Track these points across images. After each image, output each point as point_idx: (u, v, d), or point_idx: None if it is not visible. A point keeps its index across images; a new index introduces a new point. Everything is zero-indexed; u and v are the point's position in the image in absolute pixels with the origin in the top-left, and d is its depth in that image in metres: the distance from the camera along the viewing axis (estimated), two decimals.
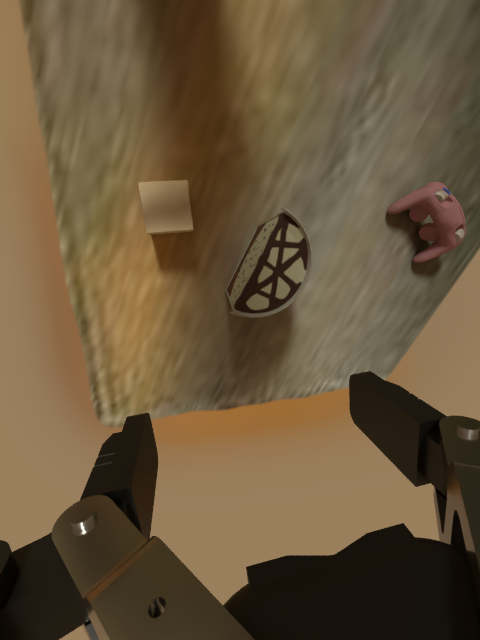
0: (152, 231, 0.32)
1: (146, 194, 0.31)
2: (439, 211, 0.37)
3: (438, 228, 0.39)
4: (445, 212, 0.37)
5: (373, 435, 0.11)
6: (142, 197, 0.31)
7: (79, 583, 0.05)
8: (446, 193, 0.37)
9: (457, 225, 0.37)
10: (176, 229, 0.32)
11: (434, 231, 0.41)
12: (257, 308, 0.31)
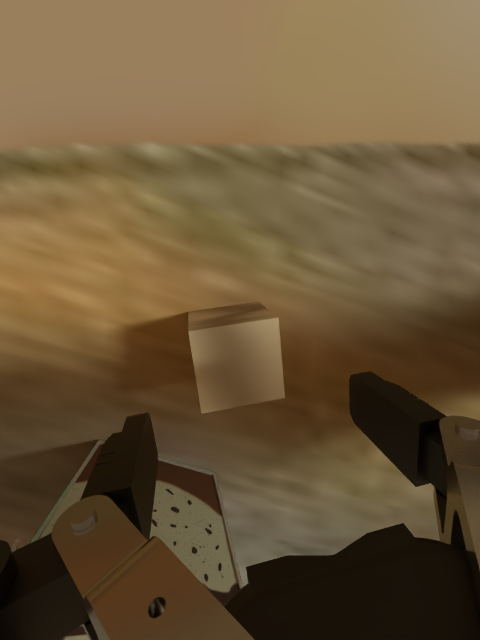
0: (192, 342, 0.16)
1: (258, 332, 0.16)
2: None
3: None
4: None
5: (373, 435, 0.11)
6: (253, 324, 0.16)
7: (79, 583, 0.05)
8: None
9: None
10: (199, 385, 0.17)
11: None
12: None
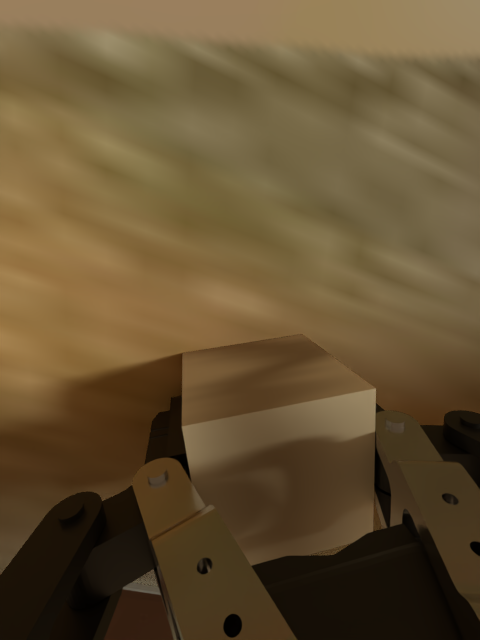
0: (190, 449, 0.07)
1: (333, 419, 0.08)
2: None
3: None
4: None
5: None
6: (323, 404, 0.08)
7: (148, 527, 0.06)
8: None
9: None
10: None
11: None
12: None
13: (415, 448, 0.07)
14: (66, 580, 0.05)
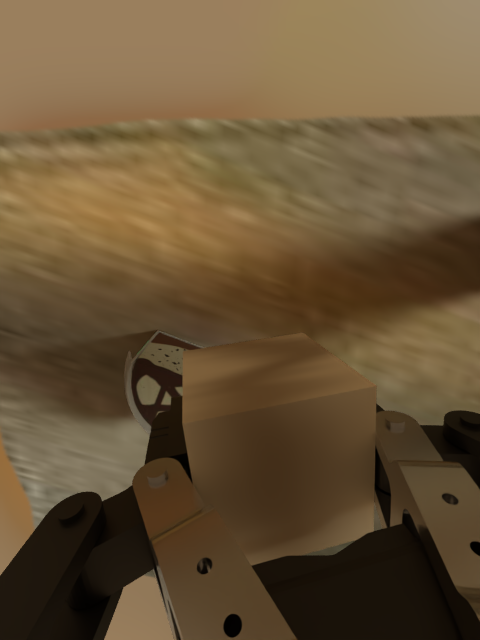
0: (191, 446, 0.07)
1: (334, 416, 0.08)
2: None
3: None
4: None
5: None
6: (324, 402, 0.08)
7: (148, 527, 0.06)
8: None
9: None
10: None
11: None
12: (139, 391, 0.23)
13: (415, 448, 0.07)
14: (66, 580, 0.05)
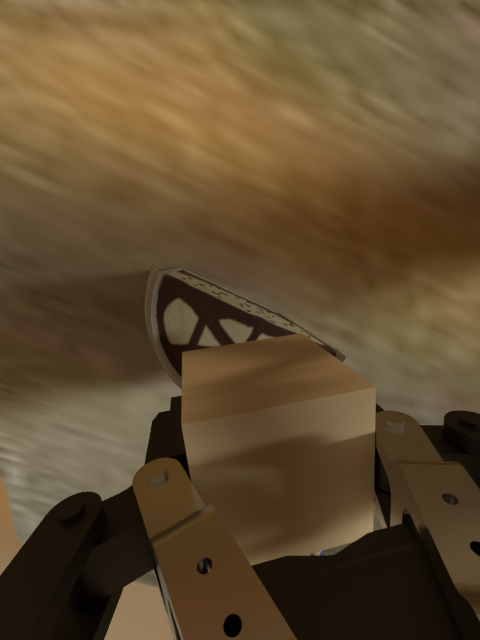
0: (190, 448, 0.07)
1: (333, 417, 0.08)
2: None
3: None
4: None
5: None
6: (323, 403, 0.07)
7: (148, 527, 0.06)
8: (319, 553, 0.27)
9: None
10: None
11: None
12: (167, 322, 0.15)
13: (415, 448, 0.07)
14: (66, 580, 0.05)
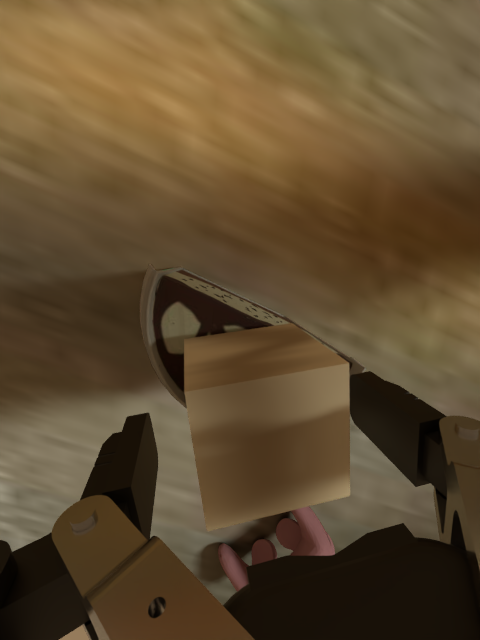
0: (191, 412, 0.08)
1: (313, 389, 0.09)
2: None
3: None
4: None
5: (373, 435, 0.11)
6: (304, 376, 0.09)
7: (79, 583, 0.05)
8: None
9: None
10: (203, 484, 0.09)
11: None
12: (165, 329, 0.14)
13: None
14: None
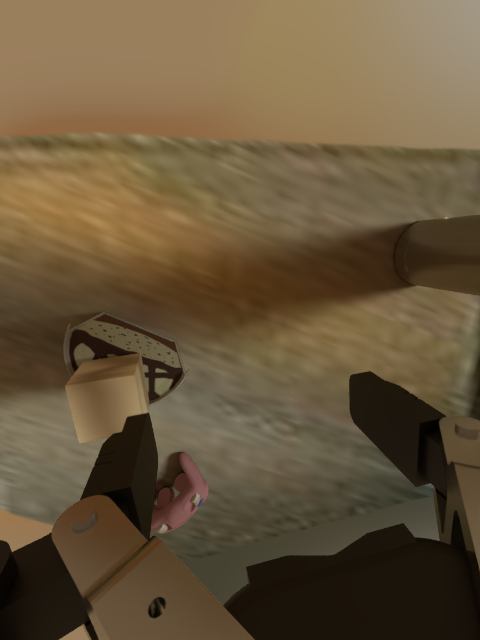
0: (68, 393, 0.22)
1: (119, 385, 0.23)
2: (181, 502, 0.39)
3: (166, 506, 0.39)
4: (180, 508, 0.38)
5: (373, 435, 0.11)
6: (114, 380, 0.23)
7: (79, 583, 0.05)
8: (197, 503, 0.39)
9: (169, 523, 0.38)
10: (75, 423, 0.23)
11: (165, 502, 0.41)
12: (76, 356, 0.27)
13: None
14: None
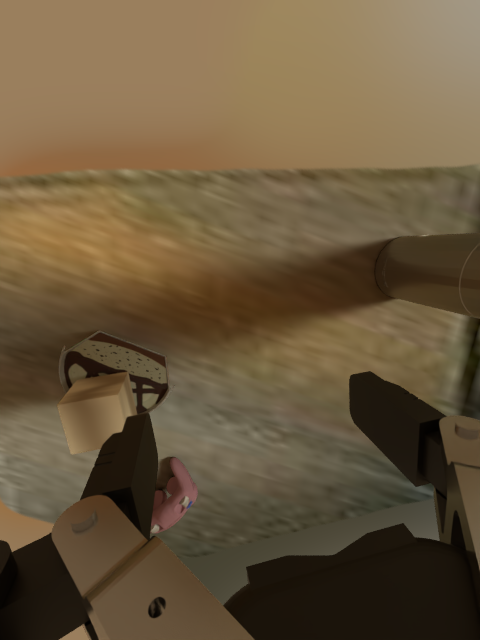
0: (60, 411, 0.25)
1: (105, 403, 0.26)
2: (171, 504, 0.42)
3: (158, 508, 0.42)
4: (170, 510, 0.41)
5: (373, 435, 0.11)
6: (101, 399, 0.26)
7: (79, 583, 0.05)
8: (186, 505, 0.42)
9: (160, 524, 0.41)
10: (67, 436, 0.26)
11: (158, 504, 0.44)
12: (70, 375, 0.31)
13: None
14: None
